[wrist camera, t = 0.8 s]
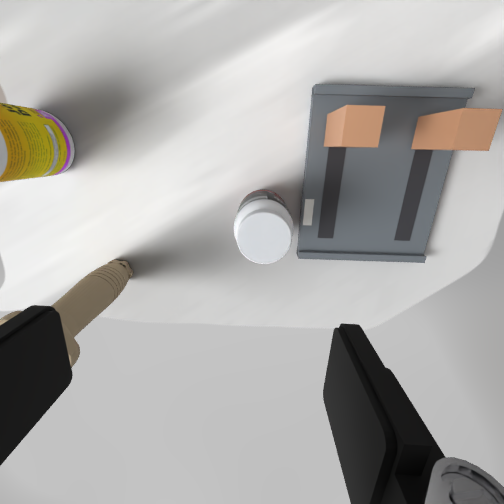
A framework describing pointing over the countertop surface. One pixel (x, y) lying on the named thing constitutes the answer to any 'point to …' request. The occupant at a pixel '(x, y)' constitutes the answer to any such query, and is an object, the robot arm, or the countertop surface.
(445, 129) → the tab
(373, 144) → the orange rectangular block
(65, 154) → the supplement bottle
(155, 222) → the countertop surface
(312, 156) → the grey tray
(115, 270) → the handle
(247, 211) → the pill bottle
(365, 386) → the robot arm
